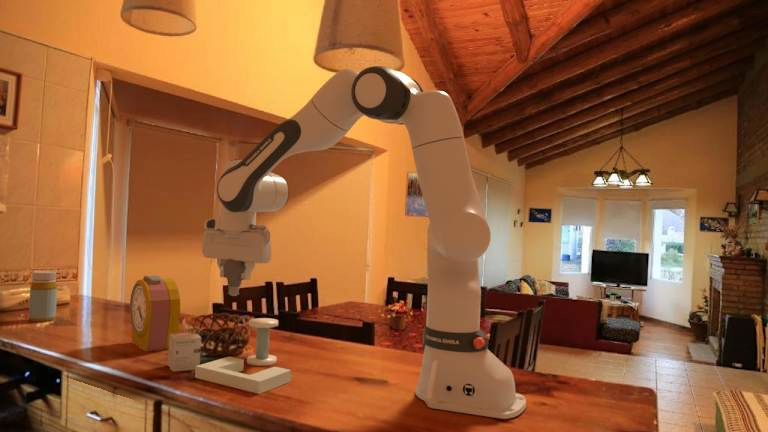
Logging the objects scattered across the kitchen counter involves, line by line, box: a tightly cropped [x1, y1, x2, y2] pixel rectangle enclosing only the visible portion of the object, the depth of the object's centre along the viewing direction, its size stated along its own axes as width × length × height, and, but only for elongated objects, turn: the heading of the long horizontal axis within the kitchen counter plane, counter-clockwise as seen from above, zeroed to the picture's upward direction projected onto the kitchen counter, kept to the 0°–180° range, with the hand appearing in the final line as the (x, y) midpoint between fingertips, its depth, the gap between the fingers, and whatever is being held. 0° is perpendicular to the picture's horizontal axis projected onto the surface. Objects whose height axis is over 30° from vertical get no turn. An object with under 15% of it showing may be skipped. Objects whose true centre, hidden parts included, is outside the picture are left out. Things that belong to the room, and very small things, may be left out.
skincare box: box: [167, 332, 202, 373], centre depth 122 cm, size 6×6×7 cm
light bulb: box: [223, 259, 247, 297], centre depth 134 cm, size 6×6×10 cm
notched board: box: [194, 356, 292, 395], centre depth 115 cm, size 18×10×2 cm, turn 62°
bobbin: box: [246, 317, 279, 367], centre depth 130 cm, size 7×7×10 cm
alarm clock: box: [129, 275, 181, 352], centre depth 141 cm, size 15×8×18 cm, turn 42°
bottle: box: [28, 270, 58, 323], centre depth 164 cm, size 7×7×15 cm
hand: (234, 278), depth 134 cm, fingers closed on light bulb, 6 cm apart
